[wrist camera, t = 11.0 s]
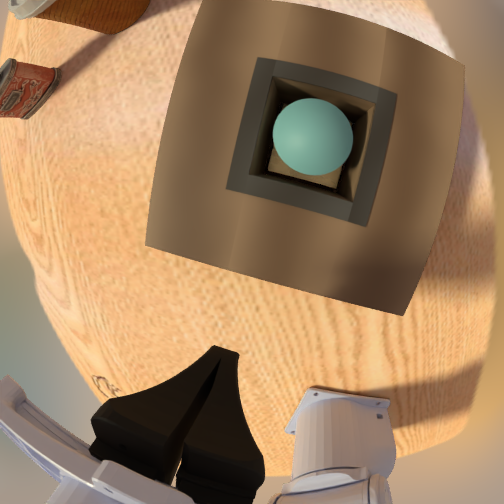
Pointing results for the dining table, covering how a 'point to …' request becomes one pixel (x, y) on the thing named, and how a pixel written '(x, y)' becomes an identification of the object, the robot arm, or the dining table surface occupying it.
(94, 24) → the disposable coffee cup
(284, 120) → the peg
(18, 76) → the lighter
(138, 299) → the dining table surface
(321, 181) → the beige square pad
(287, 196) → the block
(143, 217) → the dining table surface
